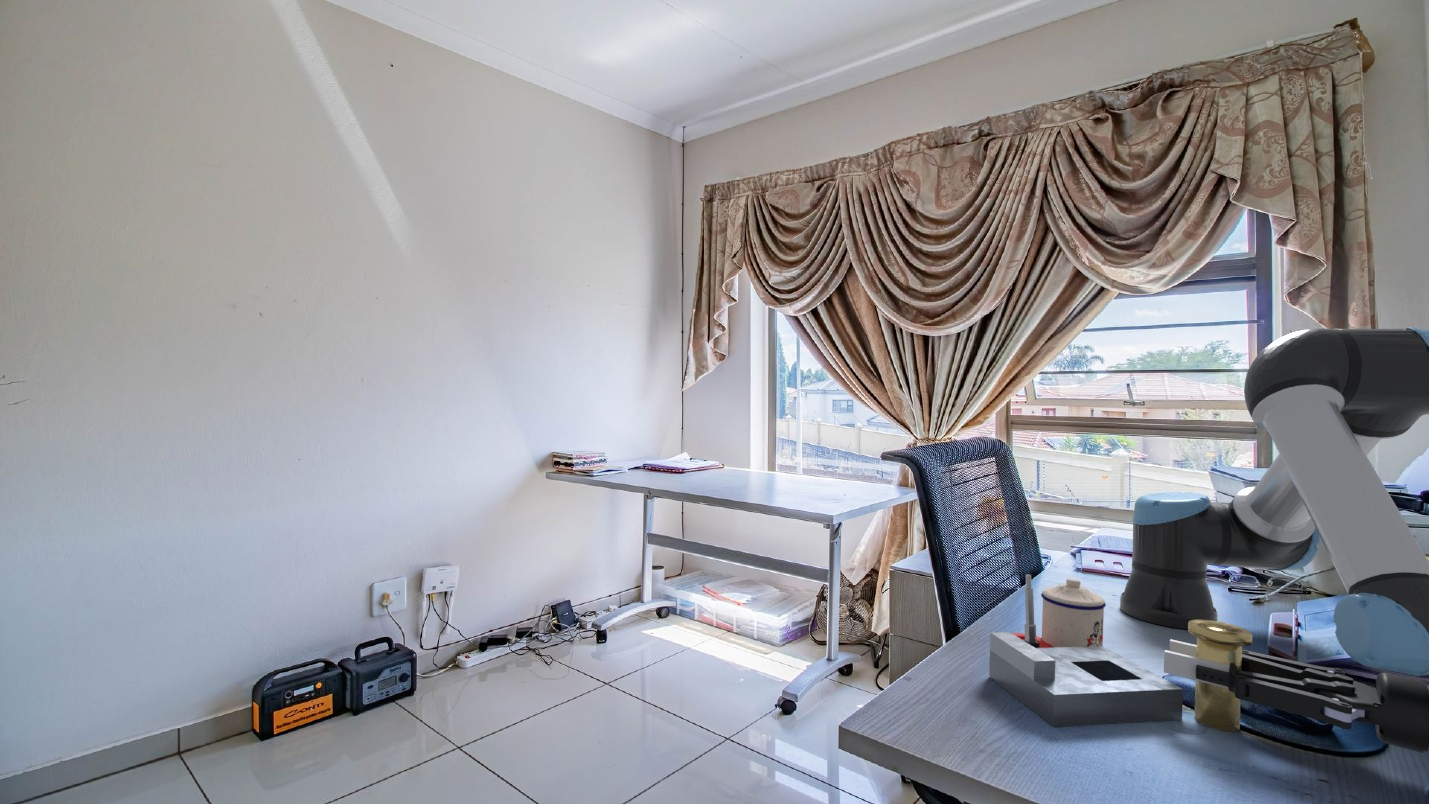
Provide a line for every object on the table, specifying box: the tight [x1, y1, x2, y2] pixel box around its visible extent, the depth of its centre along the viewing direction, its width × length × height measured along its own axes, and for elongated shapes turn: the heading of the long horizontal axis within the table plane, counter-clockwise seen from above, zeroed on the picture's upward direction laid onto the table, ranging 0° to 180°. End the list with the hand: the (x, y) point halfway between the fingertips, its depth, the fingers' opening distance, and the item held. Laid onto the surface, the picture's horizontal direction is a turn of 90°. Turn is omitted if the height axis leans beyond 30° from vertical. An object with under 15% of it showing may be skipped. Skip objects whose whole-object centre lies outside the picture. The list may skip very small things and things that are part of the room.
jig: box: [988, 631, 1184, 728], centre depth 87 cm, size 18×14×6 cm
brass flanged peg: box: [1187, 620, 1253, 733], centre depth 81 cm, size 6×6×12 cm
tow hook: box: [1011, 574, 1052, 648], centre depth 104 cm, size 8×13×9 cm
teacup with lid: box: [1040, 577, 1107, 648], centre depth 105 cm, size 12×9×12 cm
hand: (1167, 655), depth 85 cm, fingers closed on brass flanged peg, 4 cm apart
